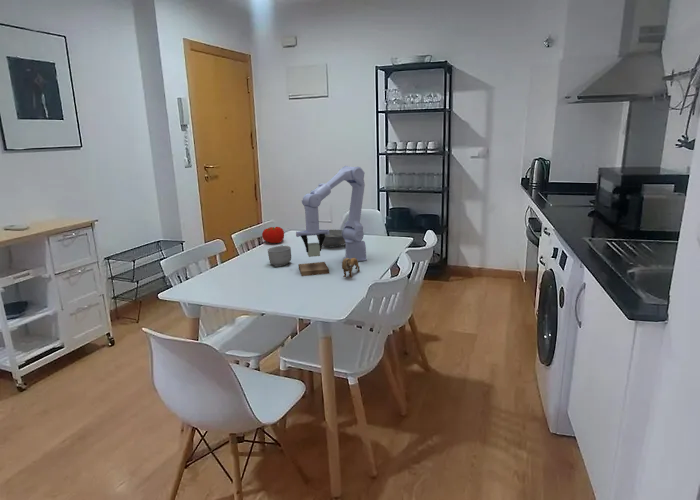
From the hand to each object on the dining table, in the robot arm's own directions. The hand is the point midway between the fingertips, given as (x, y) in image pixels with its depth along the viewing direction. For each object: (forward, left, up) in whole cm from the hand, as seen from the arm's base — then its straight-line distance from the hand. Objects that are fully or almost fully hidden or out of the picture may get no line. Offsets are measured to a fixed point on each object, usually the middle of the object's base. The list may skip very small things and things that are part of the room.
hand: (313, 251), depth 204 cm
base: (+1, +2, -9) cm, 9 cm away
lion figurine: (-14, +13, -9) cm, 21 cm away
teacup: (+14, -15, -9) cm, 22 cm away
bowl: (-16, -39, -9) cm, 43 cm away
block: (0, 0, -2) cm, 2 cm away
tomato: (+15, -59, -9) cm, 62 cm away
